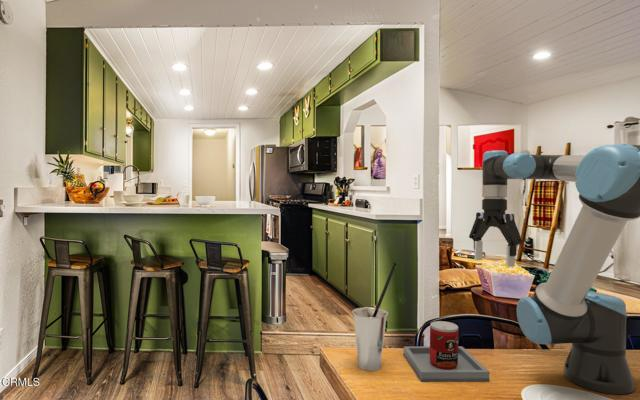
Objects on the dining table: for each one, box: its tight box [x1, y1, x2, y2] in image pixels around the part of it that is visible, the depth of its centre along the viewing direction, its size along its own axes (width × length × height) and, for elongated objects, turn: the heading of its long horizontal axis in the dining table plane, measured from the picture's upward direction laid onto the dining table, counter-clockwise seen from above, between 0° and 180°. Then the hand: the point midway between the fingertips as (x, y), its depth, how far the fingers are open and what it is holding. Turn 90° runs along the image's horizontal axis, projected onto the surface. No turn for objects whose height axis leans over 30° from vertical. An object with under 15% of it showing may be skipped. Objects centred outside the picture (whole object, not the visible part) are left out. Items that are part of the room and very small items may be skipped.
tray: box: [403, 345, 490, 383], centre depth 113 cm, size 18×18×2 cm
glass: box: [351, 262, 397, 372], centre depth 112 cm, size 11×11×30 cm
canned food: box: [429, 320, 459, 370], centre depth 113 cm, size 8×8×11 cm
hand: (493, 263), depth 131 cm, fingers open, 13 cm apart
